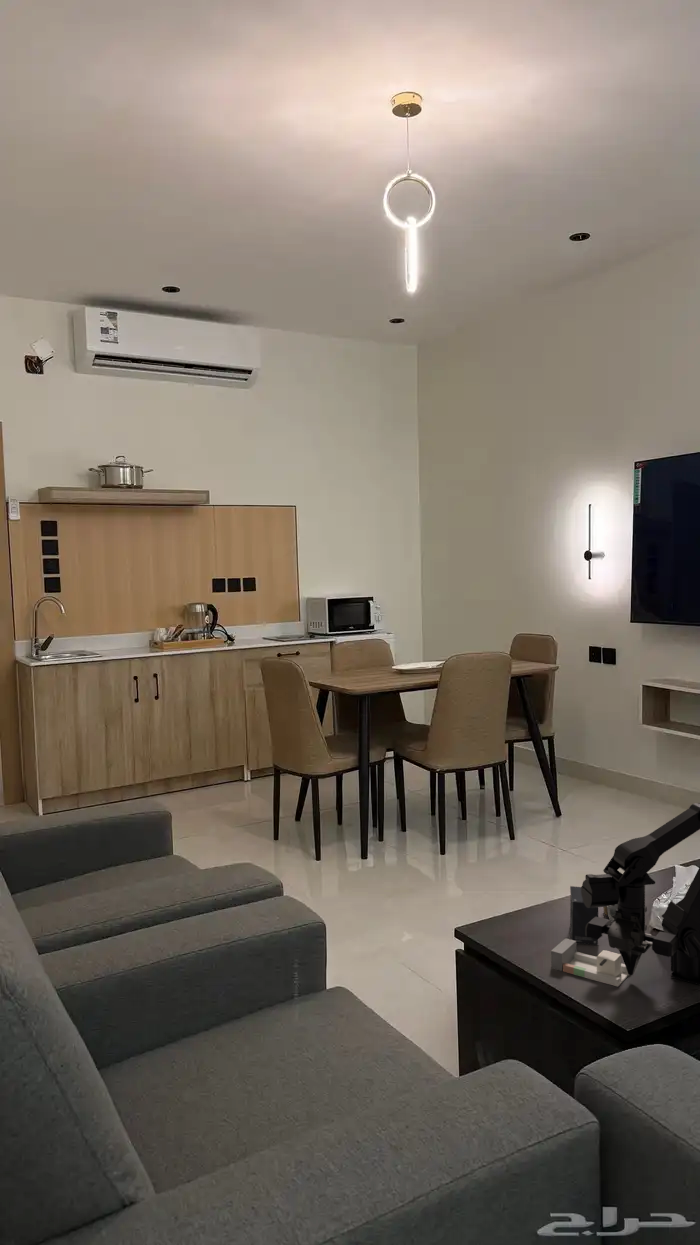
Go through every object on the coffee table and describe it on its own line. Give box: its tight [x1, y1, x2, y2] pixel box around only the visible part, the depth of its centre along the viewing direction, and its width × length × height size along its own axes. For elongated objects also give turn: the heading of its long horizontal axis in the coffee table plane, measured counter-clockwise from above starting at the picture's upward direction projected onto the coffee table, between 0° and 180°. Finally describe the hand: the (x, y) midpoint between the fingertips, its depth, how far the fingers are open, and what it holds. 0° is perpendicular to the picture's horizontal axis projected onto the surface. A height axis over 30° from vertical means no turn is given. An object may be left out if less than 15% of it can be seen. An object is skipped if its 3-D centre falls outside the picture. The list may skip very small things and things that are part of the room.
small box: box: [569, 885, 599, 946], centre depth 212 cm, size 11×6×10 cm, turn 168°
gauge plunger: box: [596, 949, 622, 977], centre depth 191 cm, size 4×7×4 cm, turn 143°
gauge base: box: [550, 937, 630, 988], centre depth 194 cm, size 15×8×4 cm, turn 53°
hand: (631, 974), depth 189 cm, fingers closed
